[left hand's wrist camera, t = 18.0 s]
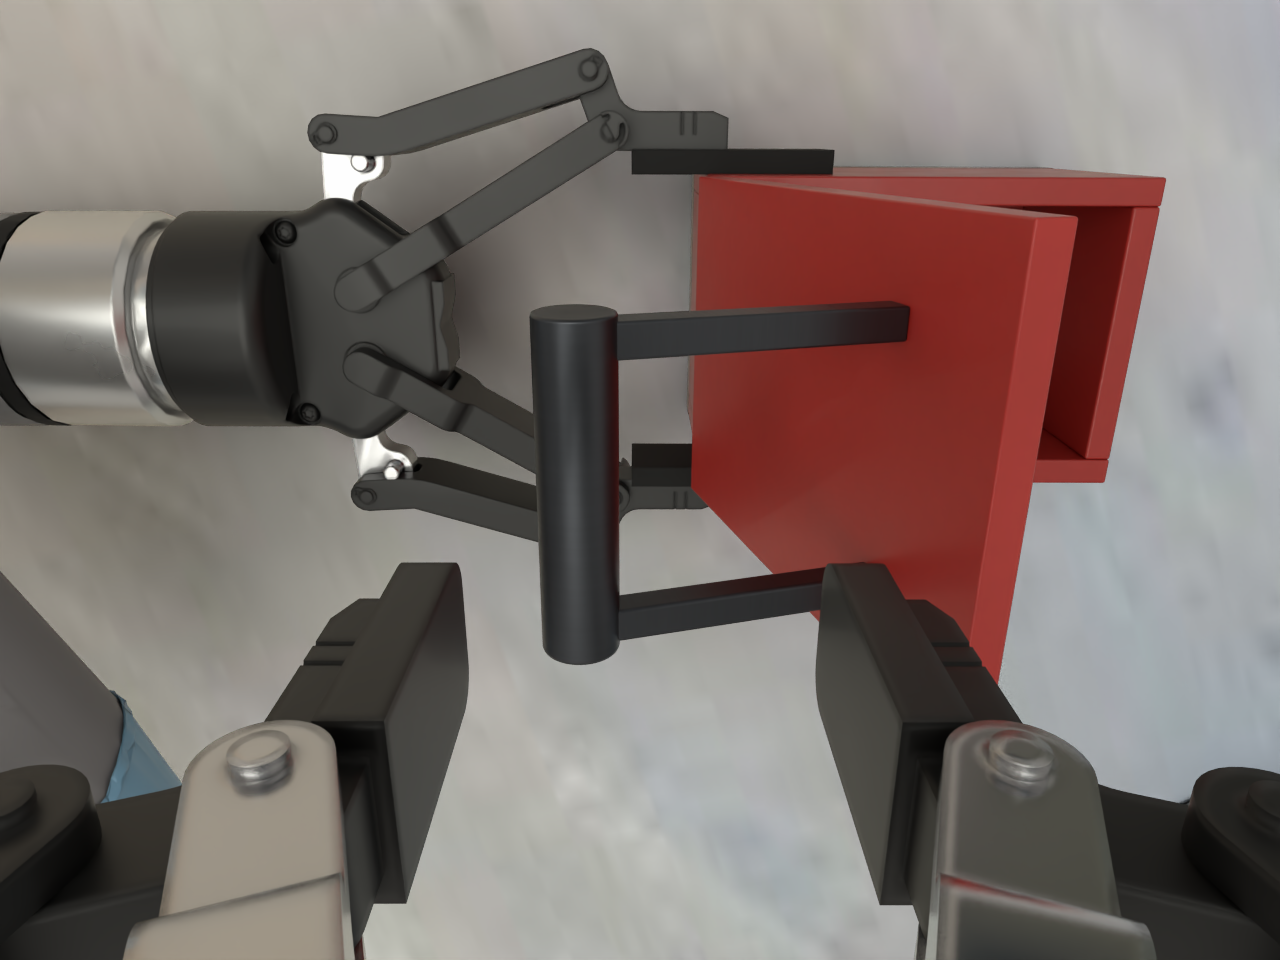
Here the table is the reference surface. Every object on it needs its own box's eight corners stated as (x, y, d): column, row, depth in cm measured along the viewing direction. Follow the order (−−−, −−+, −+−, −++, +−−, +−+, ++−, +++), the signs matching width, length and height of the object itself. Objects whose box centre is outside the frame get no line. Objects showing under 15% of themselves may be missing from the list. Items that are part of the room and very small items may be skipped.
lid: (1080, 216, 14) (570, 228, 12) (986, 753, 18) (584, 839, 15) (723, 176, 27) (454, 178, 25) (712, 485, 31) (476, 511, 29)
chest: (1041, 167, 36) (1168, 177, 28) (1004, 408, 40) (1105, 483, 31) (692, 165, 36) (709, 175, 28) (686, 407, 40) (700, 482, 31)
